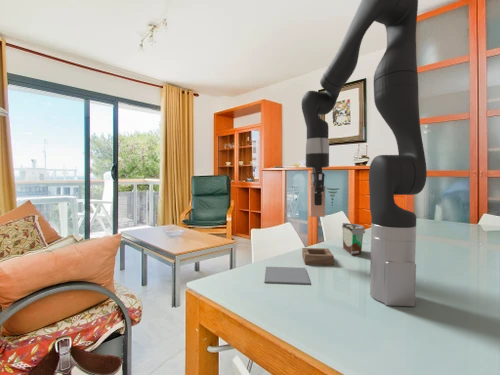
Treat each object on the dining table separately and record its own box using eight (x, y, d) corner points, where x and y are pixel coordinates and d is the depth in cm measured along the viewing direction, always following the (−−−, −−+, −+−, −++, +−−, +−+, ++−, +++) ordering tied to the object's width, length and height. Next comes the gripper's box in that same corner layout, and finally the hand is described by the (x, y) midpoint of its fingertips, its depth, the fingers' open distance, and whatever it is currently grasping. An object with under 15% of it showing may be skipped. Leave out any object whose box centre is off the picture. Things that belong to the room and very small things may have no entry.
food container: (370, 256, 96) (370, 228, 95) (352, 256, 96) (353, 228, 95) (357, 247, 108) (357, 223, 108) (341, 247, 108) (342, 222, 108)
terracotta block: (324, 216, 88) (325, 186, 87) (310, 216, 88) (311, 186, 88) (322, 214, 92) (322, 185, 92) (309, 214, 93) (309, 185, 92)
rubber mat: (310, 284, 71) (310, 282, 71) (264, 282, 72) (264, 281, 72) (305, 269, 83) (305, 267, 83) (265, 267, 84) (265, 266, 84)
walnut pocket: (333, 265, 86) (333, 255, 86) (305, 264, 87) (305, 255, 87) (328, 257, 95) (328, 248, 95) (302, 256, 96) (302, 247, 96)
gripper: (333, 150, 82) (332, 206, 83) (324, 154, 96) (324, 202, 97) (308, 151, 83) (308, 206, 83) (303, 155, 97) (303, 202, 97)
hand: (316, 204), depth 90 cm, fingers closed on terracotta block, 4 cm apart
